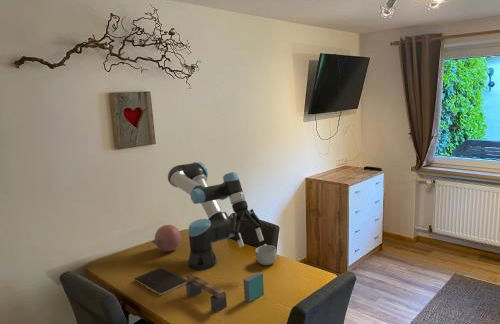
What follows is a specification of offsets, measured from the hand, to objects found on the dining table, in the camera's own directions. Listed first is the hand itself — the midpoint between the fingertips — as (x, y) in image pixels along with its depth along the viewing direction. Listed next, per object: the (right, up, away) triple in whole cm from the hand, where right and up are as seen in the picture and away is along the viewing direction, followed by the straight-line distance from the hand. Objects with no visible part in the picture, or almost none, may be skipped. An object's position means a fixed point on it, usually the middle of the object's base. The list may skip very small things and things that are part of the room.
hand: (252, 243), depth 186 cm
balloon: (-50, -13, +39) cm, 65 cm away
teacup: (+8, -14, +19) cm, 25 cm away
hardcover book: (-45, -20, +2) cm, 49 cm away
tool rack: (-20, -21, -17) cm, 34 cm away
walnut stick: (-21, -16, -18) cm, 32 cm away
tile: (+1, -20, -17) cm, 26 cm away
